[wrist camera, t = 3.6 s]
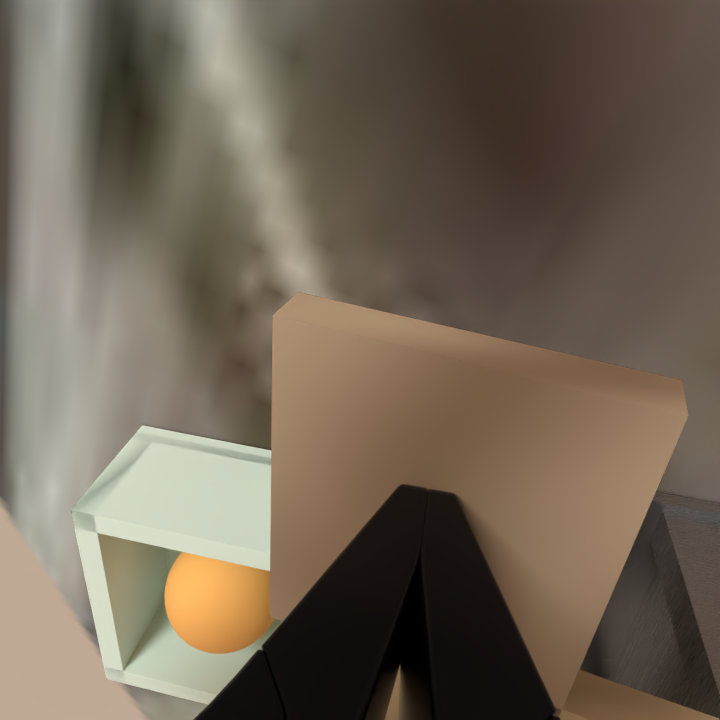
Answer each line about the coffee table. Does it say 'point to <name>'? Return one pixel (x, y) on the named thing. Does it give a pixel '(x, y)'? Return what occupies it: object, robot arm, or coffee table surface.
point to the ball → (217, 603)
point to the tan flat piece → (472, 470)
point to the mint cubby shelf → (169, 551)
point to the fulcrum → (666, 608)
